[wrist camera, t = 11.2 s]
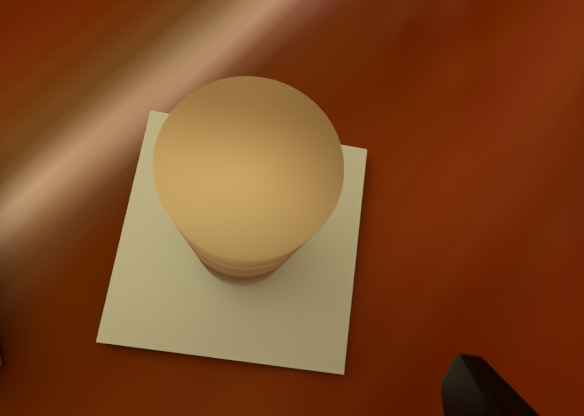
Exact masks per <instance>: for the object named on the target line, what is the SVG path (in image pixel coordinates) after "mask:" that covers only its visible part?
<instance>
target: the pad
mask: <svg viewBox="0 0 584 416" xmlns="http://www.w3.org/2000/svg"><path fill="white" fill-rule="evenodd" d="M168 116H169V114H167V113H162V112H156V111H151V110H150V114H149V119H148V123H147V127H146V131H145V136H144V140H143V144H142V148H141V153H140V157H139V161H138V165H137V170H136V174H135V178H134V182H133V187H132V191H131V195H130V199H129V204H128V208H127V212H126V216H125V221H124V225H123V229H122V233H121V238H120V242H119V246H118V250H117V255H116V259H115V263H114V268H113V272H112V276H111V280H110V285H109V289H108V293H107V297H106V302H105V306H104V310H103V314H102V319H101V323H100V327H99V331H98V336H97V340H96V342H99V343H107V344H114V345H122V346H130V347H137V348H145V349H152V350H160V351H168V352H175V353H183V354H190V355H198V356H206V357H213V358H221V359H228V360H236V361H244V362H251V363H259V364H266V365H274V366H282V367H289V368H297V369H304V370H312V371H320V372H327V373H335V374H342V375H344V368H345V359H346V349H347V339H348V329H349V320H350V310H351V300H352V291H353V281H354V271H355V262H356V252H357V242H358V233H359V223H360V213H361V203H362V194H363V184H364V174H365V165H366V155H367V149H362V148H356V147H351V146H345V145H341V148H342V152H343V158H344V180H343V186H342V191H341V194H340V197H339V200H338V203H337V205H336V207H335V209H334V211H333V213H332V214H331V216H330V217H329V219H328V220H327V222H326V223H325V224H324V225H323V226H322V227H321V229H320V230H319V231H318V232H317V233H316V234H315V235H314V236H312V237H311V238H310V239H309V240H308V241H307V242H306V243H305V244H304V245H303V246H302V247H301V248H300V249H299V250H298V251H296V252H295V253H294V254H293V255H292V256H291V257H290V258H289V259H288V260H287V261H286V262H285V263H284V264H283V265H282V266H280V267H279V268H278V269H277V270H276V271H275V272H274V273H273V274H272V275H270V276H269V277H267V278H266V279H264V280H262V281H260V282H257V283H254V284H249V285H235V284H230V283H227V282H224V281H222V280H220V279H218V278H216V277H215V276H213V275H212V274H211V273H210V272H209V271H208V270H207V269H206V268H205V267H204V265H203V264H202V263H201V261H200V260H199V258H198V257H197V256H196V254H195V253H194V251H193V250H192V248H191V247H190V246H189V244H188V243H187V241H186V240H185V239H184V237H183V236H182V234H181V233H180V232H179V230H178V229H177V227H176V226H175V225H174V223H173V222H172V220H171V219H170V217H169V216H168V214H167V213H166V211H165V209H164V208H163V206H162V204H161V201H160V199H159V197H158V194H157V191H156V187H155V184H154V177H153V154H154V147H155V143H156V140H157V137H158V134H159V132H160V130H161V127H162V125H163V123H164V122H165V120H166V119H167V117H168Z"/></svg>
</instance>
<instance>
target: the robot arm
mask: <svg viewBox="0 0 584 416" xmlns="http://www.w3.org/2000/svg"><path fill="white" fill-rule="evenodd" d="M441 396H442V403H443V410H444V416H540V415H539V414H538V413H537V412H536V411H535V410H534V409H533V408H532V407H531V406H530V405H529V404H528V403H527V402H526V401H525V400H524V399H523V398H522V397H521V396H520V395H519V394H518V393H517V392H516V391H515V390H514V389H513V388H512V387H511V386H510V385H509V384H508V383H507V382H506V381H505V380H504V379H503V378H502V377H501V376H500V375H499V374H498V373H497V372H496V371H495V370H494V369H493V368H492V367H491V366H490V365H489V364H488V363H487V362H486V361H485V360H484V359H483V358H481V357H480V356H477V355H470V354H458V355H457V356H456V357H455V358H454V360H453V362H452V364H451V366H450V367H449V369H448V371H447V373H446V375H445V376H444V378H443V380H442V384H441Z"/></svg>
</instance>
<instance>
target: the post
mask: <svg viewBox="0 0 584 416" xmlns="http://www.w3.org/2000/svg"><path fill="white" fill-rule="evenodd" d="M153 177H154V184H155V187H156V191H157V194H158V197H159V199H160V201H161V204H162V206H163V208H164V209H165V211H166V213H167V214H168V216H169V217H170V219H171V220H172V222H173V223H174V225H175V226H176V227H177V229H178V230H179V232H180V233H181V234H182V236H183V237H184V239H185V240H186V241H187V243H188V244H189V246H190V247H191V248H192V250H193V251H194V253H195V254H196V256H197V257H198V258H199V260H200V261H201V263H202V264H203V265H204V267H205V268H206V269H207V270H208V271H209V272H210V273H211V274H212V275H213V276H215V277H216V278H218V279H220V280H222V281H224V282H227V283H230V284H235V285H249V284H254V283H257V282H260V281H262V280H264V279H266V278H267V277H269V276H270V275H272V274H273V273H274V272H275V271H276V270H277V269H278V268H279V267H280V266H282V265H283V264H284V263H285V262H286V261H287V260H288V259H289V258H290V257H291V256H292V255H293V254H294V253H295V252H296V251H298V250H299V249H300V248H301V247H302V246H303V245H304V244H305V243H306V242H307V241H308V240H309V239H310V238H311V237H312V236H314V235H315V234H316V233H317V232H318V231H319V230H320V229H321V227H322V226H323V225H324V224H325V223H326V222H327V220H328V219H329V217H330V216H331V214H332V213H333V211H334V209H335V207H336V205H337V203H338V200H339V197H340V194H341V191H342V186H343V180H344V158H343V152H342V148H341V144H340V141H339V138H338V136H337V133H336V131H335V129H334V127H333V125H332V123H331V122H330V120H329V119H328V118H327V116H326V115H325V113H324V112H323V111H322V110H321V109H320V108H319V107H318V106H317V105H316V104H315V103H314V102H313V101H312V100H311V99H310V98H309V97H307V96H306V95H304V94H303V93H301V92H300V91H298V90H296V89H294V88H293V87H291V86H289V85H286V84H284V83H281V82H279V81H275V80H271V79H267V78H262V77H254V76H240V77H231V78H226V79H222V80H218V81H215V82H212V83H209V84H207V85H205V86H203V87H201V88H199V89H197V90H195V91H194V92H192V93H191V94H189V95H188V96H187V97H185V98H184V99H183V100H182V101H181V102H180V103H179V104H178V105H177V106H176V107H175V108H174V109H173V110H172V112H171V113H170V114H169V116H168V117H167V119H166V120H165V122H164V123H163V125H162V127H161V130H160V132H159V134H158V137H157V140H156V143H155V147H154V154H153Z"/></svg>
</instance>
